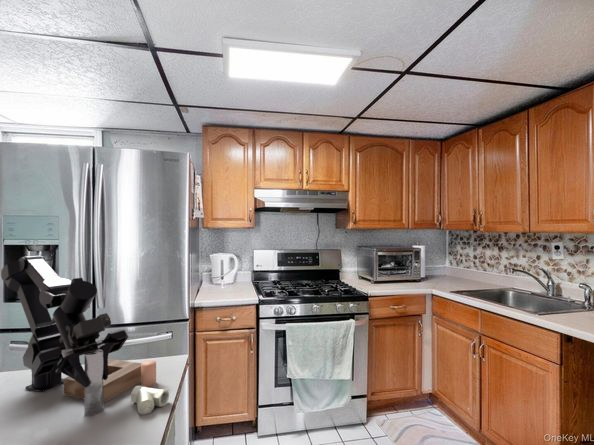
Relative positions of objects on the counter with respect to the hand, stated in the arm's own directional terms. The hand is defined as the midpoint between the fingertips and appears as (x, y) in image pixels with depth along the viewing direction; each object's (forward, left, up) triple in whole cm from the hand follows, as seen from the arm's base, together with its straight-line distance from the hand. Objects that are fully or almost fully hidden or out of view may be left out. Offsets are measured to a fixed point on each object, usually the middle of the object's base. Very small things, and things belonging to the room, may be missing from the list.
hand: (97, 382), depth 73 cm
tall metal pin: (-1, 0, -7) cm, 7 cm away
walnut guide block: (-9, +10, -7) cm, 15 cm away
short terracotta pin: (+1, +14, -7) cm, 16 cm away
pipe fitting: (+9, +5, -7) cm, 12 cm away
